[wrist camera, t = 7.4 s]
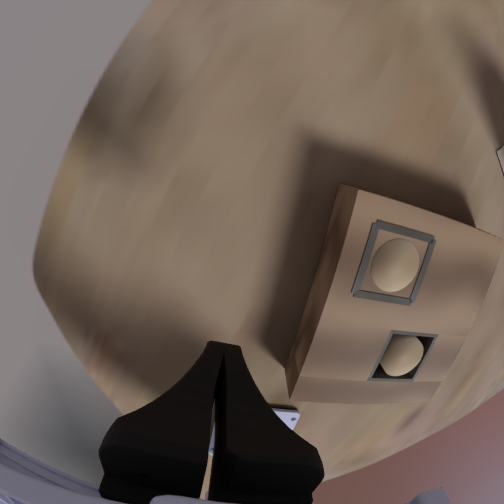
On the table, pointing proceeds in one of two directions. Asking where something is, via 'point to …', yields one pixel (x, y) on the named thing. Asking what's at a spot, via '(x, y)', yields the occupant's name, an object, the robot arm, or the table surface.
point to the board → (387, 300)
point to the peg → (401, 354)
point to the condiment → (501, 156)
